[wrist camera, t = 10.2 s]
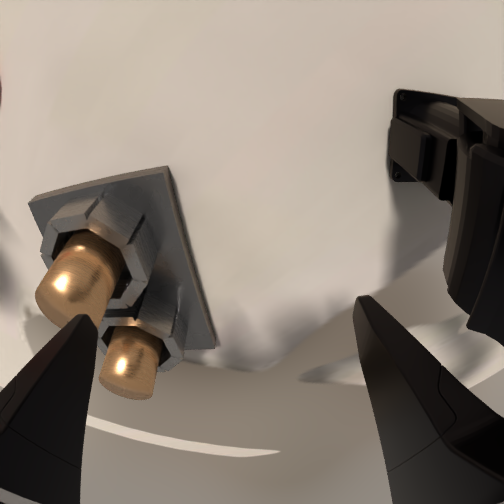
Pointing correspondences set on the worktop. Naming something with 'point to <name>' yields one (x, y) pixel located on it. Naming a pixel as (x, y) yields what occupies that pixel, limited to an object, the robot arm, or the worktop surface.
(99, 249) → the brass peg
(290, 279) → the worktop surface
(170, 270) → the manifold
